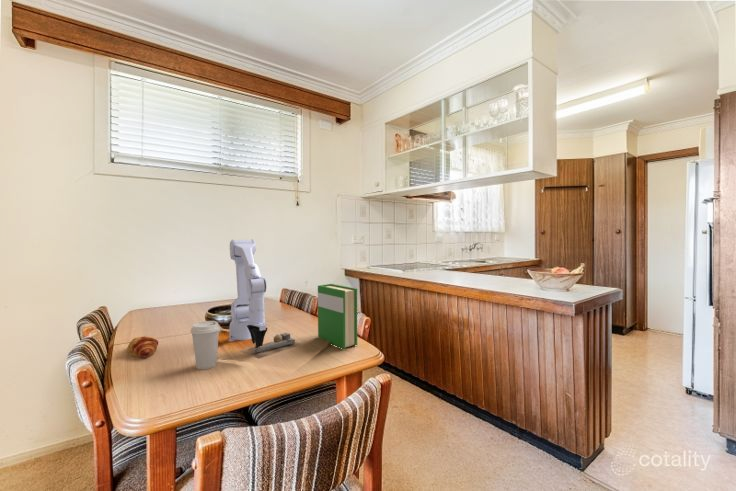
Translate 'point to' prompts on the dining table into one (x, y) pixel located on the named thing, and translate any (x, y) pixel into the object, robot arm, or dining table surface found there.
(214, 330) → the coffee cup
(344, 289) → the hardback book
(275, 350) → the base
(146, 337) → the croissant
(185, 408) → the dining table surface
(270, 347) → the lever
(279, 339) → the tan wooden ball
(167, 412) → the dining table surface
